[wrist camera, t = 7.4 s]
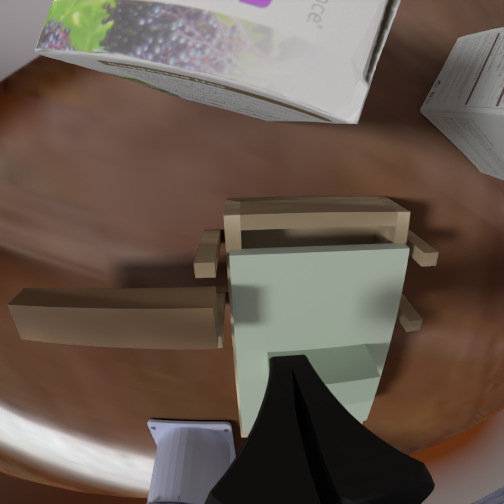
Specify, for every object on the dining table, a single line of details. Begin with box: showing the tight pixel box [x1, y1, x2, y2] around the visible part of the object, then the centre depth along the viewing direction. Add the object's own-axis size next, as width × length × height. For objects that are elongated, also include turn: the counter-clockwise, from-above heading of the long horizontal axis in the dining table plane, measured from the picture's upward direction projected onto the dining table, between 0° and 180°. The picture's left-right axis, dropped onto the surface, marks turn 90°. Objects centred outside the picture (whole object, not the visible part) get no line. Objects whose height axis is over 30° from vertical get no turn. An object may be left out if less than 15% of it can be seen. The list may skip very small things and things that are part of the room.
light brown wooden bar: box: [8, 286, 220, 349], centre depth 16 cm, size 2×12×2 cm, turn 91°
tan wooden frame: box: [194, 196, 439, 437], centre depth 21 cm, size 18×13×5 cm
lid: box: [229, 243, 410, 433], centre depth 18 cm, size 14×10×4 cm, turn 2°
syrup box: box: [36, 0, 401, 124], centre depth 9 cm, size 6×6×14 cm
